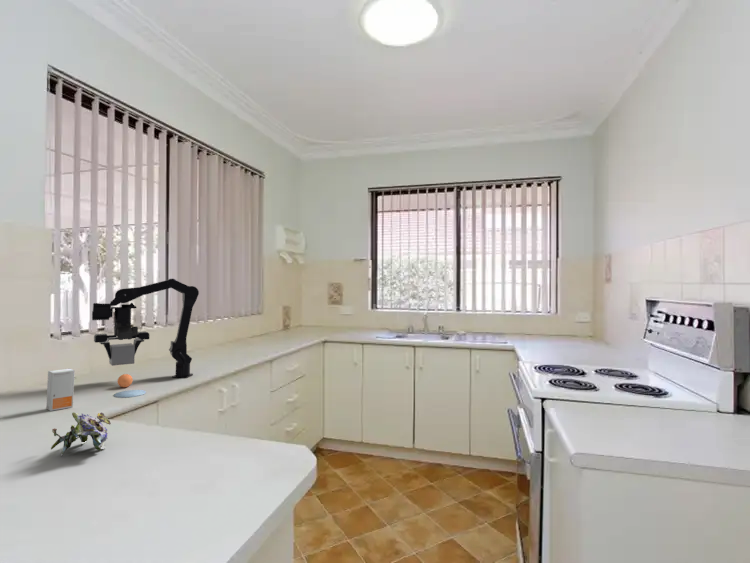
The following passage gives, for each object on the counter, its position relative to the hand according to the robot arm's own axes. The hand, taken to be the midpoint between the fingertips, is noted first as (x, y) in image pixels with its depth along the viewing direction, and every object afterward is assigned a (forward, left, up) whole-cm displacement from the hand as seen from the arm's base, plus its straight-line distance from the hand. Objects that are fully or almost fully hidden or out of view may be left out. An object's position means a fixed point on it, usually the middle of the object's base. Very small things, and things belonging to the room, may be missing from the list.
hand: (121, 358), depth 165 cm
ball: (+8, +7, -7) cm, 13 cm away
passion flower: (+69, +34, -10) cm, 77 cm away
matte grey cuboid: (0, 0, -2) cm, 2 cm away
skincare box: (+36, +3, -10) cm, 37 cm away
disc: (+17, +14, -10) cm, 24 cm away
